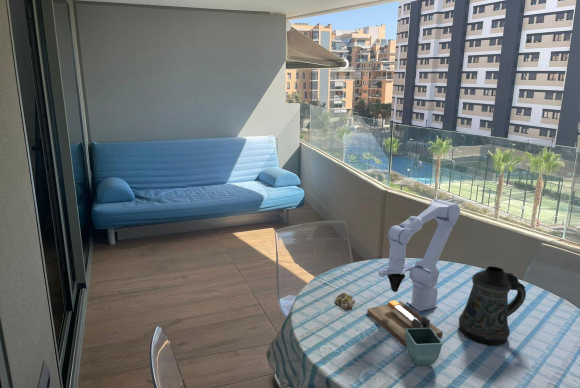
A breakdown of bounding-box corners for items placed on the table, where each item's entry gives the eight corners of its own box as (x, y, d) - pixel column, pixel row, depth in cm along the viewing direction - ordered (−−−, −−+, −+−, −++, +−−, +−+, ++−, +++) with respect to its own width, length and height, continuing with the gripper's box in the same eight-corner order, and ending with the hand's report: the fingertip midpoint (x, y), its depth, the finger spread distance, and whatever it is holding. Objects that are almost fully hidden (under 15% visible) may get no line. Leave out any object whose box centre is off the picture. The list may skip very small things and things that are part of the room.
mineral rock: (331, 293, 165) (349, 287, 165) (333, 301, 166) (352, 296, 166) (337, 307, 154) (357, 301, 155) (340, 316, 156) (359, 310, 156)
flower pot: (402, 352, 130) (404, 328, 128) (428, 351, 131) (430, 327, 128) (412, 370, 121) (415, 344, 119) (440, 369, 122) (443, 343, 120)
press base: (400, 305, 159) (402, 290, 158) (442, 336, 139) (444, 319, 137) (367, 313, 153) (368, 297, 152) (405, 346, 133) (407, 328, 131)
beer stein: (447, 325, 146) (455, 263, 140) (485, 315, 153) (494, 255, 147) (485, 351, 131) (495, 282, 125) (525, 338, 138) (536, 273, 133)
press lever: (394, 304, 152) (394, 300, 152) (425, 329, 137) (426, 324, 136) (387, 305, 151) (388, 301, 151) (418, 331, 136) (419, 326, 135)
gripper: (387, 264, 140) (385, 298, 143) (419, 258, 146) (416, 291, 149) (376, 257, 147) (373, 290, 150) (407, 251, 152) (404, 284, 155)
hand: (394, 290), depth 150 cm, fingers closed
